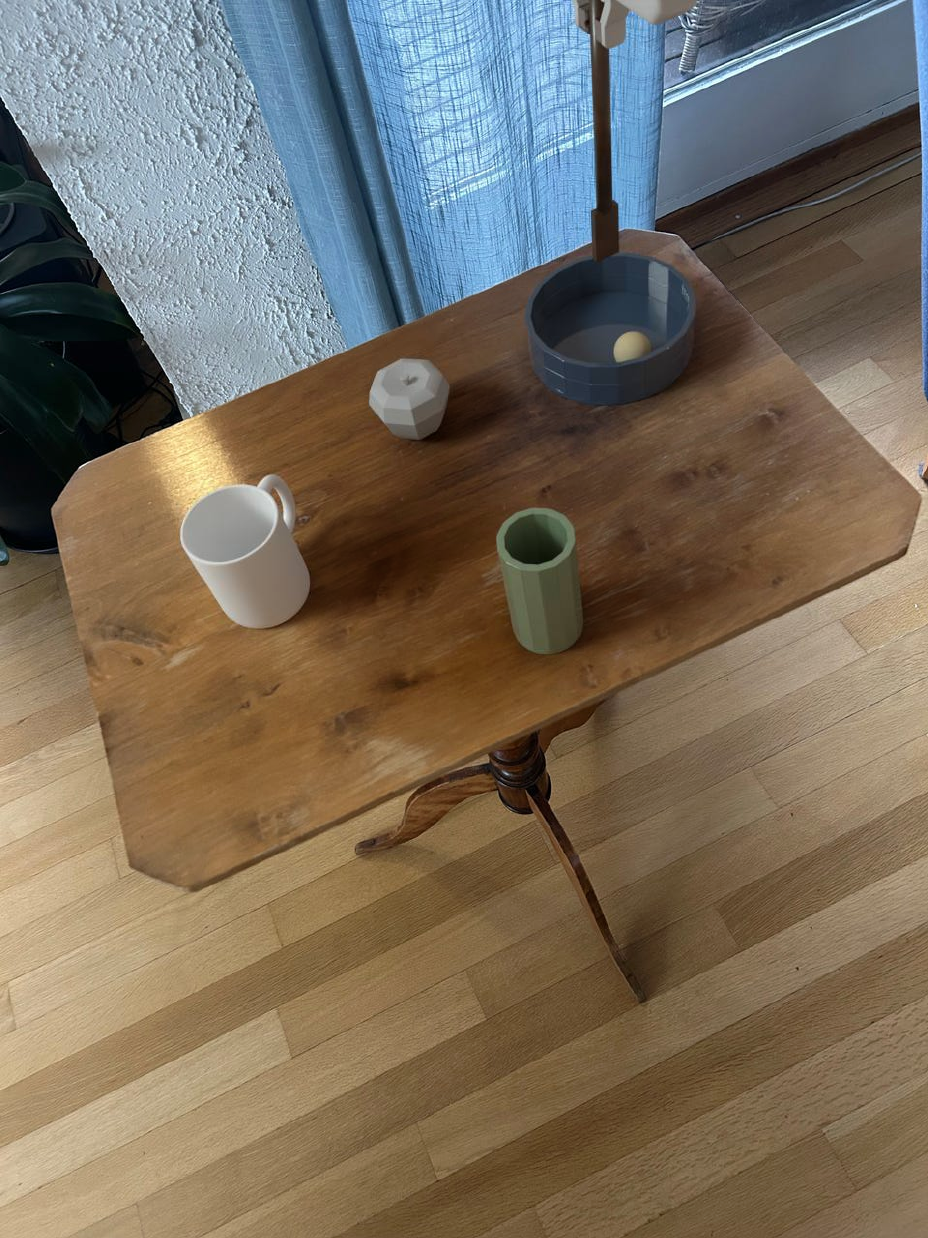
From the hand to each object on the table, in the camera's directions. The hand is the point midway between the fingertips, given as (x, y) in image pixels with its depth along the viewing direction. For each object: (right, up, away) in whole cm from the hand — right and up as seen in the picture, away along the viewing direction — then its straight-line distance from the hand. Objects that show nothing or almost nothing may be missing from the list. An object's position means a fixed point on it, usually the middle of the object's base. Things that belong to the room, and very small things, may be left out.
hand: (600, 35), depth 74 cm
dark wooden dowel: (+3, -11, +16) cm, 20 cm away
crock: (-3, -44, +9) cm, 45 cm away
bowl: (+5, -16, +25) cm, 31 cm away
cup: (-27, -40, +16) cm, 51 cm away
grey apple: (-15, -25, +24) cm, 37 cm away
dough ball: (+6, -18, +21) cm, 28 cm away
